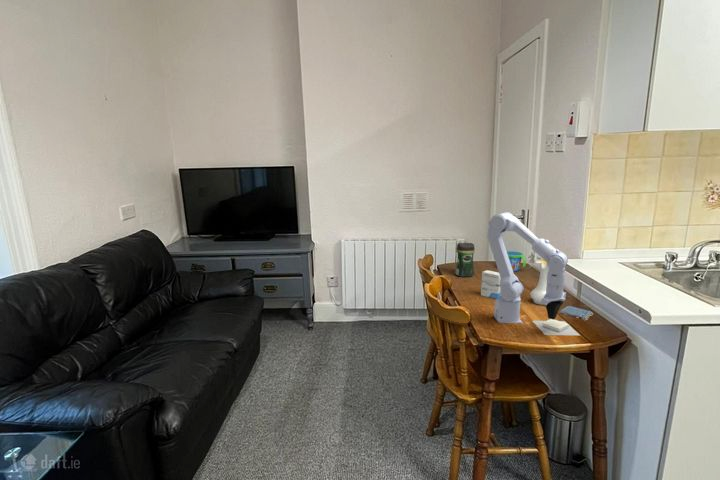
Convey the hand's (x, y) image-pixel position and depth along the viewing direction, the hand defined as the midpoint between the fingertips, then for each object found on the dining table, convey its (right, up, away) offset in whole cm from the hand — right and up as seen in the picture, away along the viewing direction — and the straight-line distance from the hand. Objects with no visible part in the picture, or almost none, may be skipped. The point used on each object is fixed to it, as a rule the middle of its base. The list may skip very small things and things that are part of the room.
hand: (551, 318), depth 153 cm
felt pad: (+3, -4, +2) cm, 6 cm away
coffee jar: (-15, +10, +71) cm, 73 cm away
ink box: (-11, +3, +38) cm, 40 cm away
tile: (0, -4, +1) cm, 4 cm away
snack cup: (+15, +12, +81) cm, 84 cm away
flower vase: (+9, +1, +31) cm, 32 cm away
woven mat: (+18, -2, +17) cm, 25 cm away
